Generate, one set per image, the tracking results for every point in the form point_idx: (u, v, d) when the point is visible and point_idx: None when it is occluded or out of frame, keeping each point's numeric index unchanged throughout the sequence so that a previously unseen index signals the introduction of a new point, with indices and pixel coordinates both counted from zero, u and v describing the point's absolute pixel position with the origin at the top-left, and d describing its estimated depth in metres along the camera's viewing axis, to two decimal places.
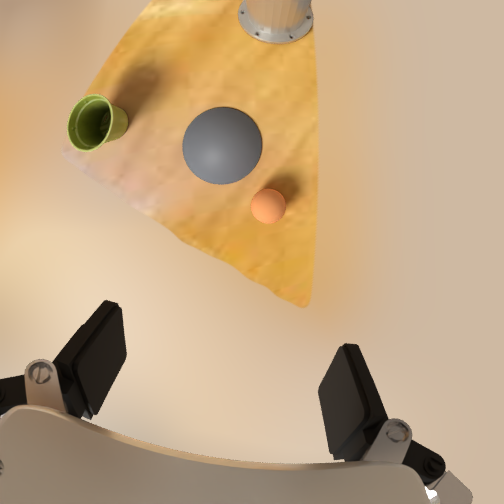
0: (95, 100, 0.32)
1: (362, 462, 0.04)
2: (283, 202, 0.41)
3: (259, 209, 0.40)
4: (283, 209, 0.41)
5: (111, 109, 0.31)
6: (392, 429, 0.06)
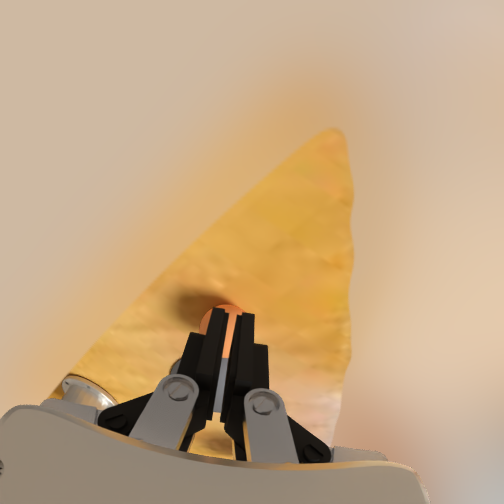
0: None
1: (362, 462, 0.04)
2: (202, 329, 0.25)
3: None
4: None
5: None
6: (256, 403, 0.07)
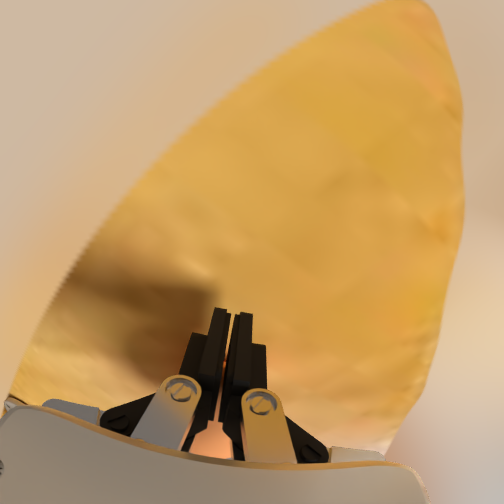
0: None
1: (362, 462, 0.04)
2: None
3: None
4: None
5: None
6: (254, 403, 0.07)
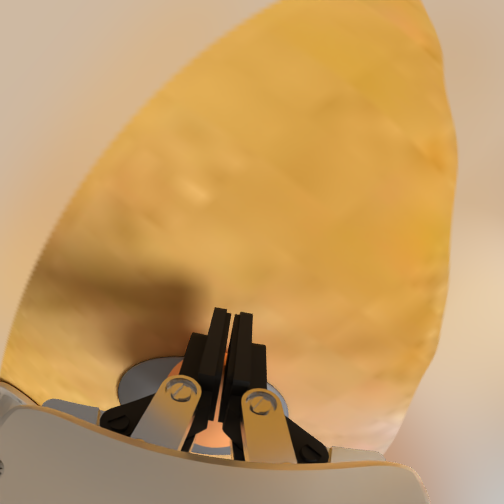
0: None
1: (361, 462, 0.04)
2: None
3: None
4: None
5: None
6: (254, 403, 0.07)
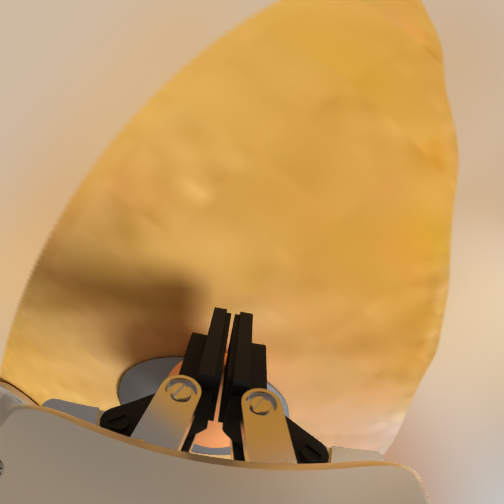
0: None
1: (362, 462, 0.04)
2: None
3: None
4: None
5: None
6: (254, 403, 0.07)
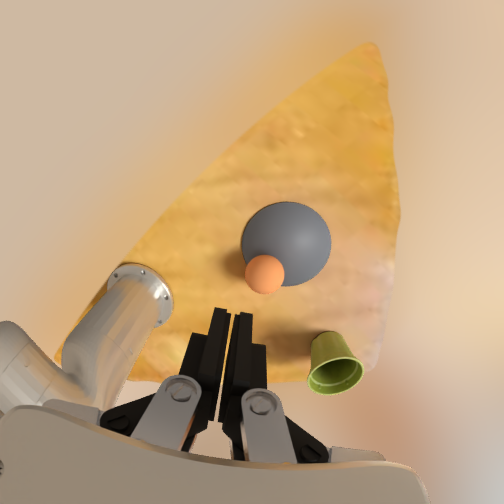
0: (314, 379, 0.41)
1: (361, 462, 0.04)
2: (261, 255, 0.37)
3: (282, 276, 0.36)
4: None
5: (315, 368, 0.37)
6: (254, 403, 0.07)
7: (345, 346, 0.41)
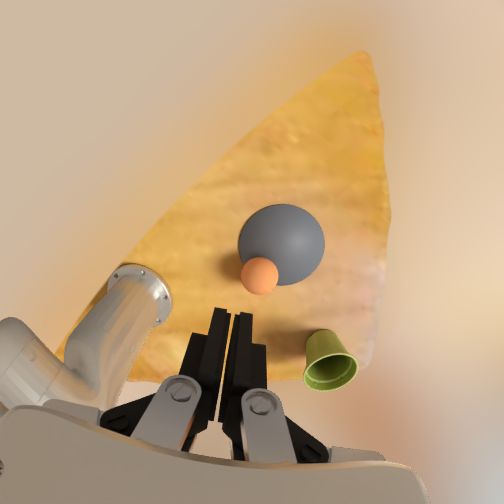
0: (310, 376, 0.43)
1: (361, 462, 0.04)
2: (256, 259, 0.39)
3: (275, 279, 0.38)
4: (262, 257, 0.39)
5: (310, 364, 0.39)
6: (254, 403, 0.07)
7: (339, 343, 0.42)
